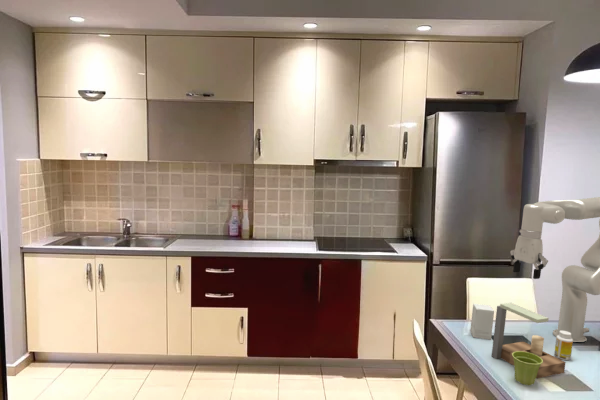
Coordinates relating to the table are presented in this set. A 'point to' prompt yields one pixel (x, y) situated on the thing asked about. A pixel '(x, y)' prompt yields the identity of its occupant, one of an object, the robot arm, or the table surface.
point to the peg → (537, 345)
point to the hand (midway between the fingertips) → (526, 275)
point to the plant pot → (526, 367)
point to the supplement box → (482, 321)
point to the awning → (501, 324)
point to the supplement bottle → (563, 345)
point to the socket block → (550, 362)
